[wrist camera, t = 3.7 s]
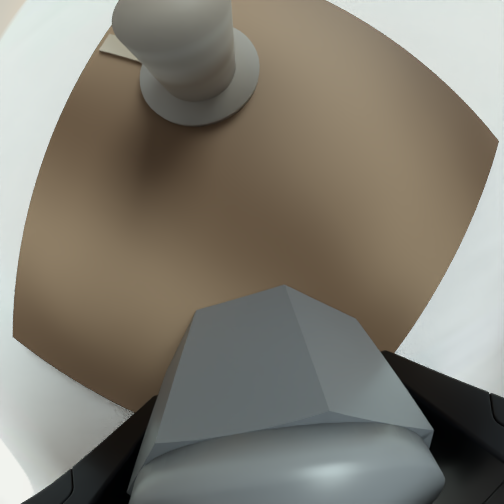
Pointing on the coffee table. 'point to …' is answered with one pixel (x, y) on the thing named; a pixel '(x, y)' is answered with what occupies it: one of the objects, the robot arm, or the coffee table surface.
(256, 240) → the base plate
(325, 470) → the knob
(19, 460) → the coffee table surface
